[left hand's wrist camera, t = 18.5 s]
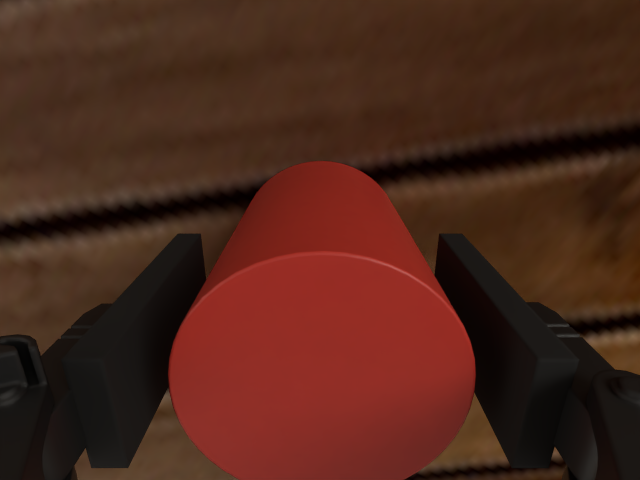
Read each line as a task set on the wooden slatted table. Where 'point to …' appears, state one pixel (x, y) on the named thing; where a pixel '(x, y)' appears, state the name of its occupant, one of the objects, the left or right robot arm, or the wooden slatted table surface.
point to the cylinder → (321, 340)
